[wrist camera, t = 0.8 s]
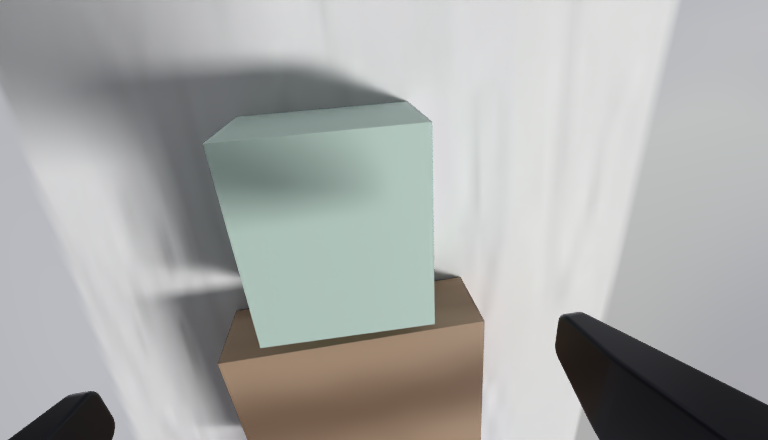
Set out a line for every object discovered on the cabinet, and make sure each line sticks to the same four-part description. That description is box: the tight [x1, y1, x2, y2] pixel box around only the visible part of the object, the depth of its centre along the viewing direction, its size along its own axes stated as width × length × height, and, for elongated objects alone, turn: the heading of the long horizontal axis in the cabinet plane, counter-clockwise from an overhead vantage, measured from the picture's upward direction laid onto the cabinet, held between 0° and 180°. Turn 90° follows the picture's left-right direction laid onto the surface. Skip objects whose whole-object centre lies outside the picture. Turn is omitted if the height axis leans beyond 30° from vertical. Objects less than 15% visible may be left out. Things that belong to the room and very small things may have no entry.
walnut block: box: [218, 277, 484, 440], centre depth 17 cm, size 8×10×3 cm
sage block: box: [203, 101, 435, 348], centre depth 13 cm, size 7×6×4 cm
